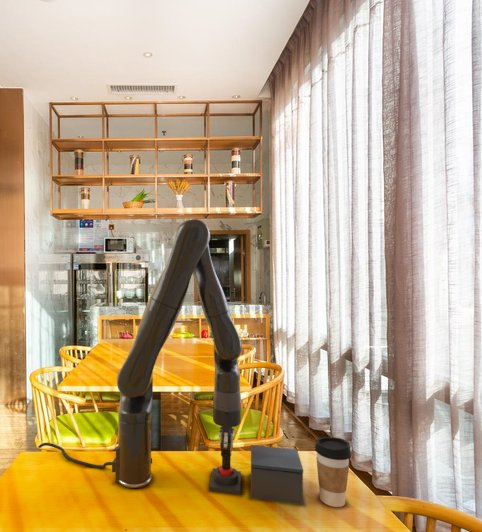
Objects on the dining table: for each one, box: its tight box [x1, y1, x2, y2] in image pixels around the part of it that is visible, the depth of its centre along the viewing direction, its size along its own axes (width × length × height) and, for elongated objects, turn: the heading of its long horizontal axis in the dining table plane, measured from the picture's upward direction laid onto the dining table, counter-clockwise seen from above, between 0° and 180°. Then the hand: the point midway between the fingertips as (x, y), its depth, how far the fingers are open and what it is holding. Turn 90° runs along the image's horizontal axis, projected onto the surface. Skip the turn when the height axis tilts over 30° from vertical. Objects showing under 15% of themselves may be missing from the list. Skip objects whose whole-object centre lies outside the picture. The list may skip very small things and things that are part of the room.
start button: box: [218, 465, 234, 476], centre depth 109 cm, size 4×4×2 cm
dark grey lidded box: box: [250, 466, 304, 506], centre depth 107 cm, size 12×13×8 cm
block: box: [209, 466, 242, 496], centre depth 109 cm, size 8×10×3 cm
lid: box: [250, 444, 304, 474], centre depth 106 cm, size 12×13×1 cm
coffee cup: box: [314, 436, 352, 508], centre depth 102 cm, size 8×8×15 cm
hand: (226, 468), depth 109 cm, fingers closed
